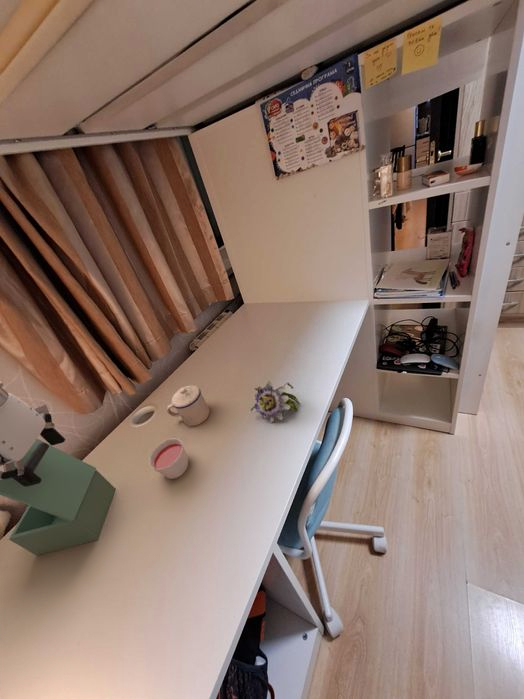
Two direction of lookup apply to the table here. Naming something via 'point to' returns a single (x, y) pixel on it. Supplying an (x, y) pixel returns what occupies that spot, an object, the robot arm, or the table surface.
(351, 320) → the table surface
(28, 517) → the green box
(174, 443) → the candle
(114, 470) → the table surface
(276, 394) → the passion flower
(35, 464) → the lid
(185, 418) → the teacup with lid
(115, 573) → the table surface
